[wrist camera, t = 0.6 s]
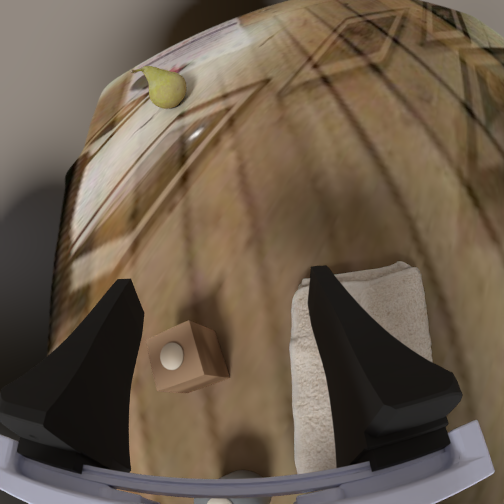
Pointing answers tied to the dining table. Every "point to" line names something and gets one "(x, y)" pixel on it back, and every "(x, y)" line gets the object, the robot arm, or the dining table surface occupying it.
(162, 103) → the fruit
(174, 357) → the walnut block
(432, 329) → the dining table surface
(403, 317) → the washcloth
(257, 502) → the slate cylinder
